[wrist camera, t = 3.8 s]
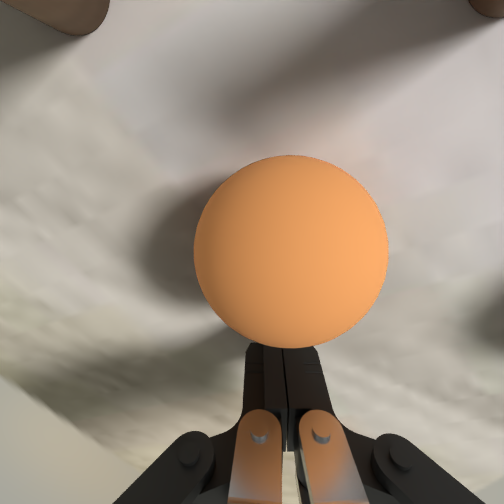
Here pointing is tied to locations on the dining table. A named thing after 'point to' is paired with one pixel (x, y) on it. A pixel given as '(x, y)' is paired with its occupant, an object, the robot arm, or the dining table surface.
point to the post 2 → (489, 7)
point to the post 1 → (65, 13)
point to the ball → (291, 251)
